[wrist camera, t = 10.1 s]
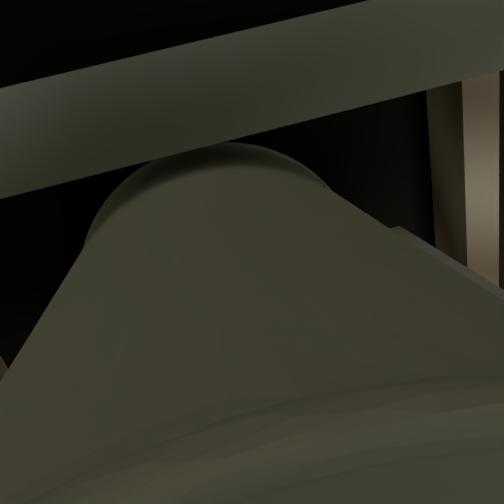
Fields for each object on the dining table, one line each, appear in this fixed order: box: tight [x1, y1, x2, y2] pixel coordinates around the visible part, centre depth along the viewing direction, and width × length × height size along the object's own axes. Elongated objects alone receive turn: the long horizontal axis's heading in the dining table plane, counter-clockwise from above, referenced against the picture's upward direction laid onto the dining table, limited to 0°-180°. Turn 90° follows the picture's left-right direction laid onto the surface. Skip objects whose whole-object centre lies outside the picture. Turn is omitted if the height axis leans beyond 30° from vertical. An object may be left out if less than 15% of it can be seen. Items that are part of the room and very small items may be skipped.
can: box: [0, 142, 504, 504], centre depth 9 cm, size 9×9×12 cm
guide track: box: [0, 0, 504, 381], centre depth 16 cm, size 30×19×5 cm, turn 13°
